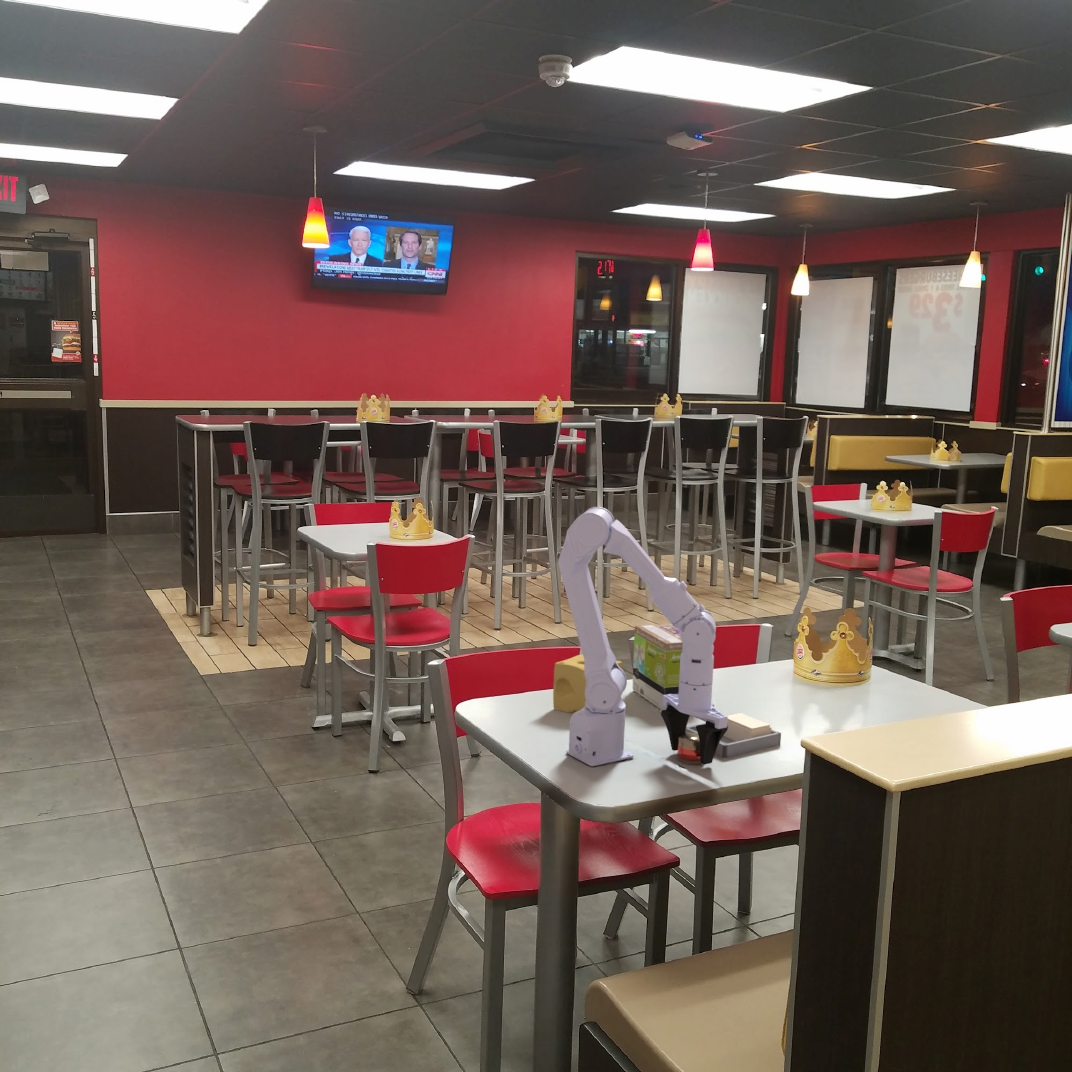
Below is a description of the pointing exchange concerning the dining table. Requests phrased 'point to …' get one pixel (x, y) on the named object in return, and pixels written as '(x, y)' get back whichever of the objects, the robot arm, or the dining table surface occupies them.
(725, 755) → the tray
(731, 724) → the cream rectangular block
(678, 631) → the tea box
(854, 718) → the dining table surface
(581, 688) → the cheese
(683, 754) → the tin
